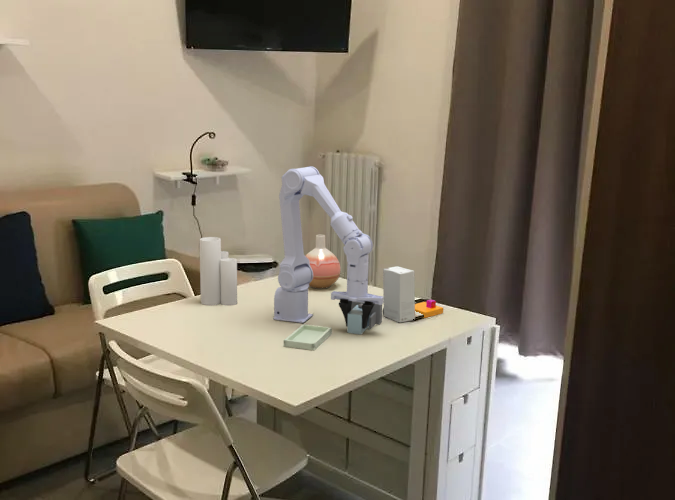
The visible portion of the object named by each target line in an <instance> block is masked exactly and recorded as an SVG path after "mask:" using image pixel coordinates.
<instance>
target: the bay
mask: <svg viewBox="0 0 675 500" xmlns="http://www.w3.org/2000/svg"><path fill="white" fill-rule="evenodd" d="M364 303H365V302H356V301H352V305H351V310H352V309H353V308H354V307H355V306H356V305H359V304H364ZM382 322H383V304H382V305H378V304H375V305H374V307H373V308H372V311H371V313H370V317H369V327H368V330H372V329H373V328H374V327H375V326H376V325H382V324H381V323H382Z"/></svg>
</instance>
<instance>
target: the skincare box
mask: <svg viewBox="0 0 675 500" xmlns="http://www.w3.org/2000/svg"><path fill="white" fill-rule="evenodd" d="M382 270H383V273H382V274H383V275H382V276H383V277H382V278H383V280H382V284H383V288H382V289H383V295H382V296H384V300H383V317H384V318H387V319H390V320H393V321H395V322H398V323H403V322H404V323H405V322H410V321H414V320H415V319H416V315H415V304H416V302H415V299H416V298H415V295H416V294H415V293H416V292H415V289H416V288H415V287H416V285H415V284H416V283H415V281H416V280H415V278H416V277H415V273H416V271H415V270H413V269H408V268H404V267H401V266H398V265H397V266H396V265H395V266H392V267H391V266H390V267H386V268H383V269H382ZM413 319H414V320H413Z"/></svg>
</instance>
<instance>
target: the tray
mask: <svg viewBox="0 0 675 500" xmlns="http://www.w3.org/2000/svg"><path fill="white" fill-rule="evenodd" d="M332 331H333V328H332V327H329V326H322V325H313V324H305V323H302V324H301V325H300V326H299V327H298V328H297V329H295V330H294V331H293V332H292V333H290V334H289V335H288V336H287V337H285V339H283V347H285V348H292V349H293V348H294V349H299V350H300V349H301V350H309V351H315V350H316V349H317V348H319V346H320V345H321V344H322V343H324V342H325V340H326V339H328V338H329V337H330V336H331V335H332V334H333V332H332Z"/></svg>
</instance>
